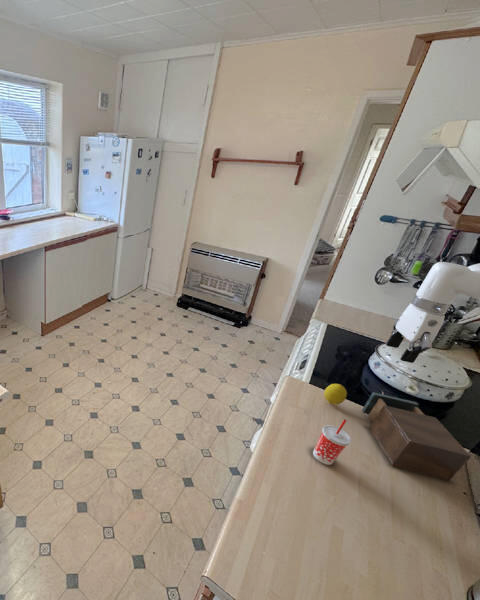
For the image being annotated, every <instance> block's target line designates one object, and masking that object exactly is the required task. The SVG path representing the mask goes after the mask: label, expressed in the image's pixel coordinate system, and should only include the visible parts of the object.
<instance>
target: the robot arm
mask: <svg viewBox="0 0 480 600" xmlns="http://www.w3.org/2000/svg"><path fill="white" fill-rule="evenodd" d="M459 294H461V295H463V296H467V297H469V298H473V299H476V300H480V263H475V264H471V265H469V266H465V265H461V264H458V263H453V262H446V261H438V262H436V263H434V264H433V265H432V266H431V268H430V270H429V271H428V273H427V274H426V276H425V278H424V279H423V281H422V282H421V285H420V286H419V288H418V290H417V291H416V293H415V295H414V296H413V298H412V300H411V302H410V303H409V305H408V306H407V307H406V308H405V310H404V311H403V312H402V313H401V315H400V317H399V318H395V319H394V324H393V326H392V331H391V333H390V337H389V338H388V340H387V342H386V343H385V346H386V347H390V348H395V349H398V348H399V347H400V345H401V344H402V342H403V341H404V339H407V340H408V341H409V344H408V348H406V349H405V350H404V351H403V353H402V355H401V357H400V358H399V360H400V361H402V362H406V363H411V364H413V363H415V361H416V360H417V358H418V357H419V355H420V354H422V353H424V352H427V351H428V350H430V349H432V347H433V345H432V343H433V342H434V341H435V338H436V337H437V335H438V334H439V331H440V330H441V328H442V326H443V323H444V320H445V317H446V315H445V314H446V313H447V311H448V310H449V309H450V307H451V305H452V304H453V302H454V301H455V300H456V298H457V296H458V295H459ZM415 345H416V346H415Z"/></svg>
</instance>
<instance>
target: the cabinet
mask: <svg viewBox="0 0 480 600" xmlns="http://www.w3.org/2000/svg"><path fill="white" fill-rule="evenodd" d="M423 414H424V413H423ZM423 414H419V413H414V412H410V411H406V410H402V409H398V408H394V407H389V406H385V405H383V407H382V408H381V410H380V412H379V413H378V415H377V416H376V418H375V419H374V421H373V422H372V421H371V423H370V426H368V430H369V432H370V433H371V435H372V437H373V438H374V440H375V441H376V443H377V445H378V446H379V448H380V449H381V451H382V452H383V454H384V456H385V457H386V459H387V461H388V462H389V464H390V465H391V466H392V467H395V468H399V469H402V470H406V471H410V472H413V473H418V474H421V475H423V476H427V477H431V478H435V479H438V480H442V481H445V482H450V481H451V480H452V479H453V477H454V476H455V475H456V474H458V472H459V471H460V470H461V468H462V467H463V466H464V465H465V464H466V463H467V462H468V461H469V460H470V459H471V457H472V456H471V455H470V453H468V451H467V450H466V449H465V448H464V447H463V446H462V444H460V443H459V441H457V439H456V438H455V437H454V436H453V435H452V434H451V432H449V431H448V429H447V428H446V427H445V426H444V425H443V424H442V423H441V422H440V420H439V419H438V418H437V417H436V416H435V417H434V416H429V415H426V414H424V415H423Z"/></svg>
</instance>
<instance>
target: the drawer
mask: <svg viewBox="0 0 480 600" xmlns="http://www.w3.org/2000/svg"><path fill="white" fill-rule="evenodd" d="M383 405H385V406H389V407H394V408H398V409H402V410H406V411H410V412H414V413H419V414H423V415H425V413H424V412H422V410H421V409H420V408H419V403H418V402H417V401H413V400H409V399H405V398H404V399H403V398H399V397H395V396H391V395H387V394H382V393H378V392H374V391H373V392H372V393H371V394H370V396H369V397H368V399H367V401H366V403H365V404H364V405H363V407H362V409H361V412H362V413H363V414H365V415H367V416H368V418H369V419H370V421H371V423H372V422H373V421H374V419H375V418H376V416H377V415H378V413H379V412H380V410H381V408H382V407H383Z"/></svg>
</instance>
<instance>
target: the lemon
mask: <svg viewBox="0 0 480 600" xmlns="http://www.w3.org/2000/svg"><path fill="white" fill-rule="evenodd" d="M347 395H348V392H347V389H346V388H345V386H344V385H342V384H340V383H331V384H329V385H328V386H326V388H325V389H324V393H323V396H324V399H325V400H326V401H327V402H328V403H329V404H330V405H340V404H342V403H343V402H345V401H346V399H347Z"/></svg>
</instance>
